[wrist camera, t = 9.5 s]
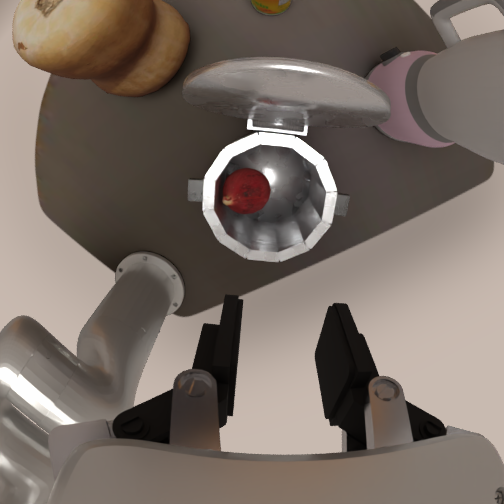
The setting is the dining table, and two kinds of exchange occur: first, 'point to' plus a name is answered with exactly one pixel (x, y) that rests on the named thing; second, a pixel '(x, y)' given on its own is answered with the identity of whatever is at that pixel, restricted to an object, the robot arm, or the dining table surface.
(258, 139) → the pot
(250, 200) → the red pomegranate
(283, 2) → the supplement bottle
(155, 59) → the butternut squash
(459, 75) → the blender
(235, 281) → the dining table surface
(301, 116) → the lid
